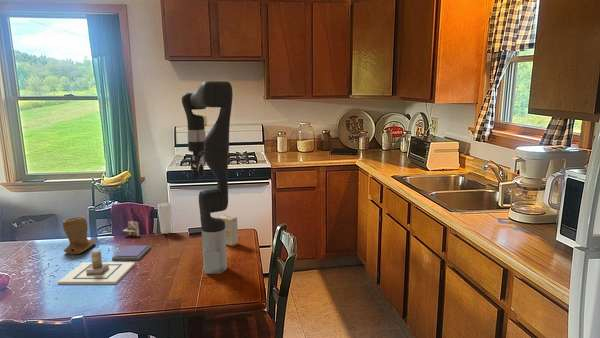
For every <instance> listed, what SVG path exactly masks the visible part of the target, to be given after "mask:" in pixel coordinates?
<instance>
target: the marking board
mask: <svg viewBox="0 0 600 338" xmlns="http://www.w3.org/2000/svg"><path fill="white" fill-rule="evenodd" d="M102 264H109V269H108V270H106V271H105V272H104V273H103V274H102V275H87V274H86V270H87V269H88V268H89V267H90V266H91V265H92V261H91V262H90V261H89V262H87V261H86V262H81V263H80V264H79V265H77V266H76V267H74V268H73V269H72V270H71V271H70V272H69V273H67V274H66V275H64V276H63V277H62V278H60V280H59V279H58V281H57V285H116V284H117V283H119V281H121V280H122V279H123V277H125V275H126V274H128V273H129V271H131V270H132V269H133V267H134V266H135V265H136V262H135V261H134V262H133V261H128V262H127V261H125V262H124V261H123V262H122V261H118V262H117V261H113V262H112V261H109V262H106V261H105V262H102Z"/></svg>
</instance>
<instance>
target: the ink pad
mask: <svg viewBox="0 0 600 338" xmlns="http://www.w3.org/2000/svg"><path fill="white" fill-rule="evenodd" d="M151 248H152V245H125V246H123V248H121V249H120V250H119V251H118V252H116V254H114V255H113V256H112V257H111V260H112V261H140V260H141V259H142V258H143V257H144V255H146V254H147V253H148V251H150V250H151Z"/></svg>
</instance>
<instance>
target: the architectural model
mask: <svg viewBox="0 0 600 338" xmlns="http://www.w3.org/2000/svg"><path fill="white" fill-rule="evenodd" d="M127 225H128V226H127V227H126V228H124V229H123V230H122V232H128V235H129V236H133V237H135V236H136V237H140V229H139V221H130V220H129V221H127Z"/></svg>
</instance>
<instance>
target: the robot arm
mask: <svg viewBox="0 0 600 338" xmlns="http://www.w3.org/2000/svg"><path fill="white" fill-rule="evenodd" d="M233 97H234V96H233V86H232V84H231V82H229V81H228V80H227V81H223V80H222V81H218V80H206V81H204V82H202V83H201V84H200V86H199V87H198V89H197V91H194V92H186V93H183V94H182V97H181V103H182V107H183V110H184V113H185V116H186V121H187V145H188V146H187V149H188V152H191V153H192V155H190V170H191V171H192V174H193V179H194V180H198V179H200V176H204V175H205V168H204V167H205V164H206V165H207V167H208V168H209V169H210V170H211V173H212V174H213V176H214V177H215V179H216V185H217V186H216V188H210V189H203V190H201V191H199V192H198V193H199V194H198V207H199V217H200V226H201V227H200V229H201V243H202V245H201V246H202V259H203V260H202V262H203V263H202V264H203V272H204V274H205V275H221V274H222V273H224V272H226V271H227V269H228V263H227V261H228V259H227V257H228V256H227V245H226V234H225V222H224V221H223V220H222V219H218V217H213V216H212V215H211V214H213V213H219V212H224V211H225V210H227V208H228V206H229V180H228V177H229V176H228V175H229V174H228V169H229V157H230V155H229V153H230V126H231V115H232V107H233ZM207 108H220V109H219V113H218V117H217V119H216V121H215V123H214V124H213V126H212V127H211V129H210V130H209V131H208V133H207V135H206V130H205V129H206V127H205V126H206V125H205V118H204V116H203V115H200V114H196V113H195V114H194V112H193V111H195V110H196V111H197V110H198V111H199V110H205V109H207Z"/></svg>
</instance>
